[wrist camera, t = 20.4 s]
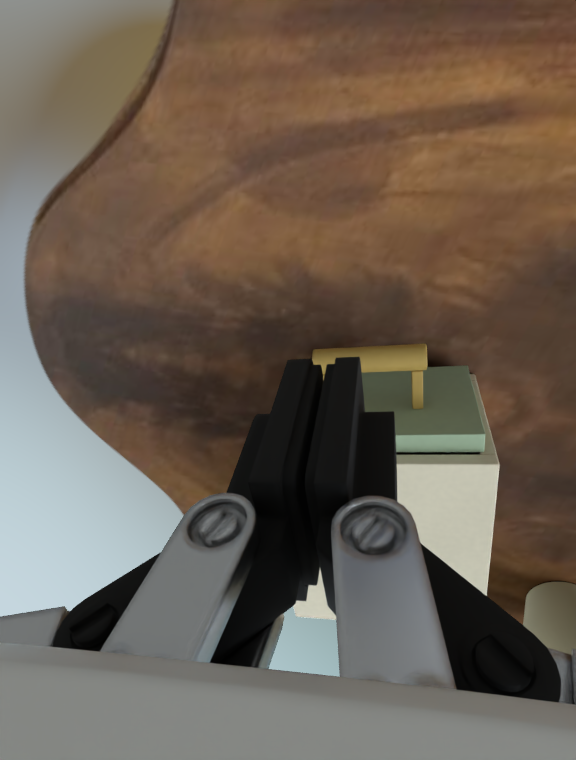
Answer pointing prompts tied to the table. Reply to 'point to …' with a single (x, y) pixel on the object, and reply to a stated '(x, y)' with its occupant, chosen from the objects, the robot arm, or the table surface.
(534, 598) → the mug
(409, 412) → the drawer
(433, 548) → the cabinet
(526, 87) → the table surface
